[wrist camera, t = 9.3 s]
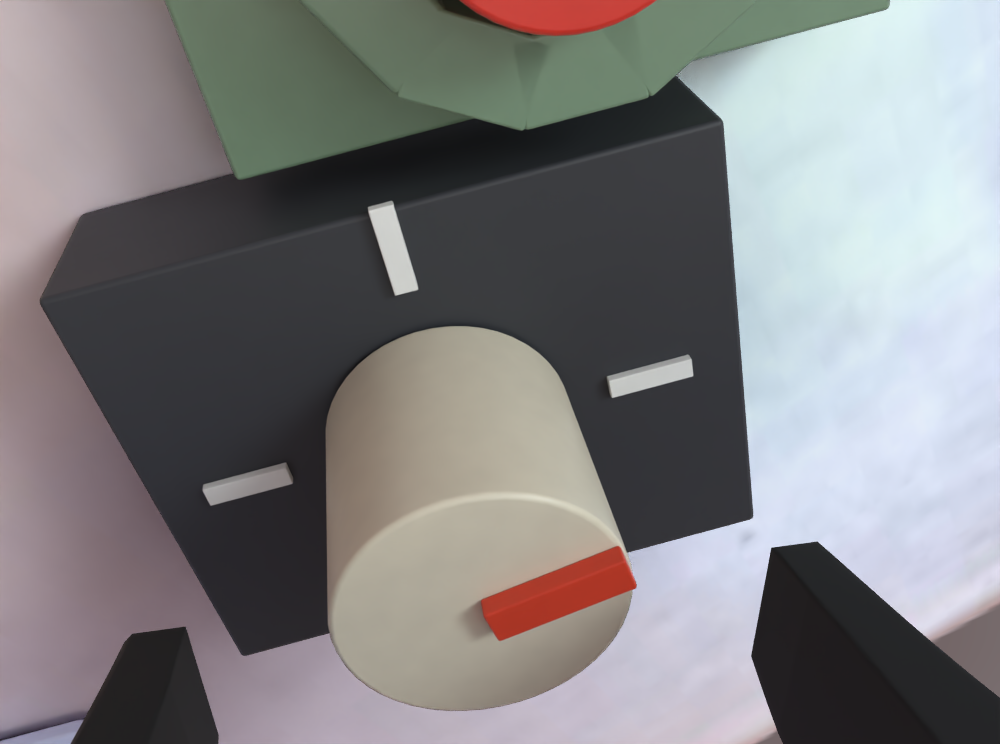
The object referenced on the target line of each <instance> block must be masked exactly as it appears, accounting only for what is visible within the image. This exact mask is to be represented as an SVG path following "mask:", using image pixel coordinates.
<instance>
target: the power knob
mask: <svg viewBox="0 0 1000 744" xmlns="http://www.w3.org/2000/svg"><path fill="white" fill-rule="evenodd" d="M326 512H327V602H328V628H329V633H330V637H331V640H332V643H333V645H334V647H335V650H336V652H337V654H338V655H339V657H340V658H341V660H342V661H343V663H344V664H345V666H346V667H347V668H348V669H349V670H350V671H351V673H352V674H353V675H354V676H355V677H356V678H357V679H359V680H360V681H361V682H363V683H364V684H365V685H366V686H368V687H369V688H371V689H373V690H374V691H376V692H378V693H380V694H381V695H384V696H386V697H388V698H391V699H393V700H395V701H398V702H402V703H405V704H408V705H411V706H416V707H421V708H427V709H435V710H445V711H468V710H481V709H488V708H494V707H500V706H504V705H508V704H512V703H516V702H520V701H523V700H526V699H529V698H532V697H535V696H537V695H539V694H542V693H544V692H546V691H549V690H551V689H553V688H555V687H557V686H559V685H560V684H562V683H564V682H566V681H568V680H569V679H571V678H572V677H574V676H575V675H577V674H578V673H580V672H581V671H583V670H584V669H585V668H586V667H587V666H589V665H590V664H591V663H592V662H593V661H595V660H596V659H597V658H598V657H599V656H600V655H601V654H602V653H603V652H604V651H605V650H606V648H607V647H608V646H609V645H610V643H611V642H612V641H613V639H614V638H615V637H616V635H617V633H618V632H619V630H620V628H621V627H622V625H623V623H624V620H625V618H626V615H627V613H628V610H629V606H630V602H631V598H632V590H633V589H635V588H636V586H637V584H636V582H635V579H634V576H633V574H632V567H631V563H630V560H629V557H628V554H627V551H626V549H625V546H624V543H623V541H622V538H621V535H620V533H619V530H618V527H617V525H616V522H615V519H614V517H613V514H612V512H611V509H610V506H609V504H608V501H607V498H606V496H605V493H604V490H603V488H602V485H601V483H600V480H599V477H598V475H597V472H596V469H595V467H594V464H593V461H592V459H591V456H590V454H589V451H588V448H587V446H586V443H585V440H584V438H583V435H582V432H581V430H580V427H579V424H578V422H577V419H576V417H575V414H574V411H573V409H572V406H571V403H570V401H569V398H568V395H567V393H566V390H565V388H564V385H563V383H562V381H561V379H560V378H559V376H558V374H557V373H556V371H555V370H554V369H553V367H552V366H551V365H550V363H549V362H548V361H547V360H546V359H545V358H544V357H542V356H541V355H540V354H539V353H538V352H537V351H535V350H534V349H532V348H531V347H530V346H528V345H527V344H525V343H523V342H521V341H519V340H517V339H515V338H513V337H511V336H509V335H506V334H503V333H500V332H498V331H493V330H489V329H485V328H479V327H470V326H445V327H437V328H430V329H426V330H422V331H417V332H414V333H411V334H408V335H405V336H403V337H400V338H398V339H396V340H394V341H392V342H390V343H388V344H385V345H384V346H382V347H381V348H379V349H378V350H376V351H374V352H373V353H371V354H370V355H369V356H368V357H366V358H365V359H364V360H363V361H362V362H360V363H359V364H358V365H357V366H356V367H355V369H354V370H353V371H352V372H351V373H350V374H349V375H348V376H347V377H346V379H345V380H344V382H343V383H342V385H341V386H340V387H339V389H338V391H337V393H336V395H335V397H334V399H333V401H332V403H331V406H330V409H329V413H328V416H327V423H326Z"/></svg>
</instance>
